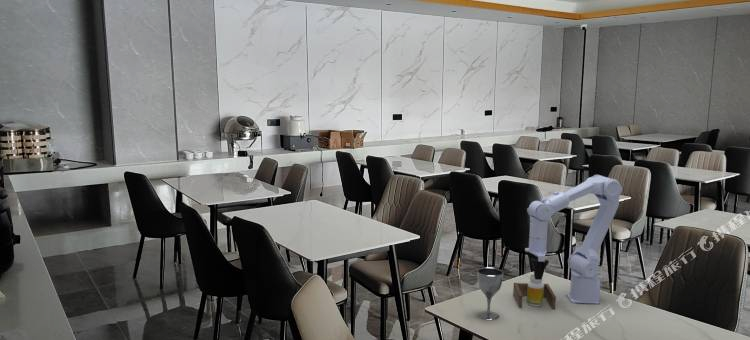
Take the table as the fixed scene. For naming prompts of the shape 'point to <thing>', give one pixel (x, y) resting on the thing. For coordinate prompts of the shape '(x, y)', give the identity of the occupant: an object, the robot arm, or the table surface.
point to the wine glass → (489, 288)
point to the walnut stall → (521, 291)
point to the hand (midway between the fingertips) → (536, 275)
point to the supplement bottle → (535, 292)
